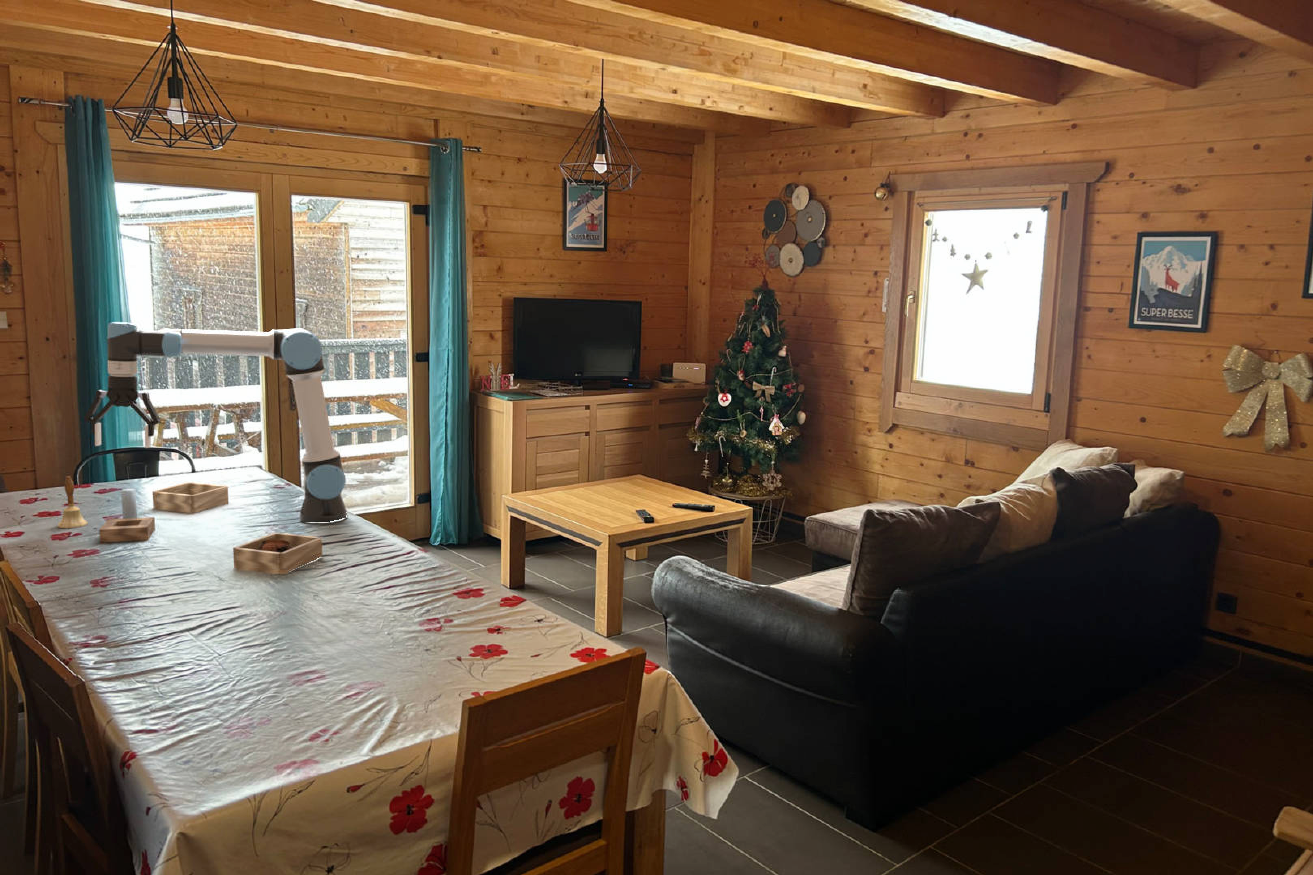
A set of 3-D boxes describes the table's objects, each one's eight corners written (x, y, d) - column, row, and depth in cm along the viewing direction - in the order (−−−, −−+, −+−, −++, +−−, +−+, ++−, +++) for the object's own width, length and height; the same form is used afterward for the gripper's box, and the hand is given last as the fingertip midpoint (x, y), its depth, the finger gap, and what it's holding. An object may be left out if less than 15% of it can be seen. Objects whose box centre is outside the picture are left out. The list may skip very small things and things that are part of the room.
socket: (155, 529, 308) (154, 517, 307) (148, 539, 295) (147, 527, 295) (109, 531, 303) (108, 519, 303) (100, 542, 291) (99, 529, 291)
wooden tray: (229, 502, 345) (228, 486, 344) (193, 513, 329) (193, 496, 328) (189, 498, 350) (188, 482, 349) (152, 508, 334) (151, 491, 333)
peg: (140, 525, 312) (138, 489, 310) (130, 528, 308) (128, 491, 306) (130, 524, 313) (128, 488, 311) (120, 527, 309) (118, 490, 307)
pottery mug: (248, 568, 271) (252, 540, 274) (273, 575, 280) (276, 547, 283) (281, 563, 267) (284, 534, 270) (306, 569, 275) (308, 541, 278)
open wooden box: (323, 557, 282) (323, 537, 281) (282, 575, 264) (282, 554, 263) (275, 551, 286) (275, 532, 285) (232, 569, 269) (231, 548, 268)
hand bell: (77, 528, 306) (73, 479, 304) (51, 527, 306) (47, 478, 304) (93, 522, 314) (89, 474, 312) (68, 521, 314) (64, 473, 312)
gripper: (70, 373, 278) (72, 446, 281) (164, 378, 283) (164, 449, 286) (81, 371, 286) (82, 442, 289) (171, 376, 290) (172, 445, 293)
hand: (123, 446), depth 287 cm, fingers open, 13 cm apart
